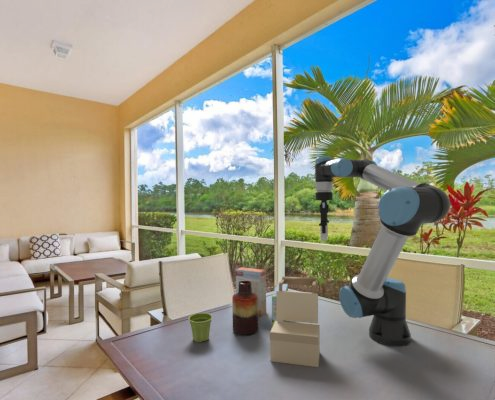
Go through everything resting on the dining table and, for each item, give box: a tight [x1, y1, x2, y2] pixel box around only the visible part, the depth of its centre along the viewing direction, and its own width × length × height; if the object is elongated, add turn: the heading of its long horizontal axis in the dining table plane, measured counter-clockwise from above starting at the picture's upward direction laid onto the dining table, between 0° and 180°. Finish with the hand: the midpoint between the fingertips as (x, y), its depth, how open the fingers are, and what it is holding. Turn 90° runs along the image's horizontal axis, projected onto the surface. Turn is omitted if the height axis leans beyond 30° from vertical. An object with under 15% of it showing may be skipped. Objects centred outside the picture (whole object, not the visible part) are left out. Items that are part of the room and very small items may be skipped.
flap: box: [276, 276, 319, 325], centre depth 120 cm, size 15×14×9 cm
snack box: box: [271, 283, 289, 328], centre depth 141 cm, size 21×6×15 cm, turn 168°
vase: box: [231, 281, 259, 337], centre depth 134 cm, size 11×11×20 cm
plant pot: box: [188, 312, 214, 343], centre depth 126 cm, size 9×9×9 cm
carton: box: [269, 321, 321, 368], centre depth 111 cm, size 16×10×10 cm, turn 75°
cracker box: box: [235, 266, 267, 317], centre depth 155 cm, size 14×6×21 cm, turn 58°
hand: (324, 238), depth 143 cm, fingers open, 13 cm apart
